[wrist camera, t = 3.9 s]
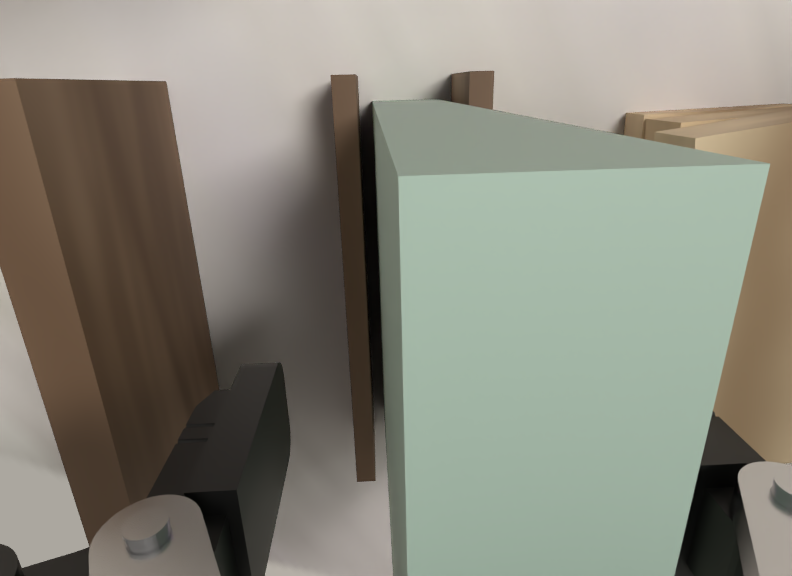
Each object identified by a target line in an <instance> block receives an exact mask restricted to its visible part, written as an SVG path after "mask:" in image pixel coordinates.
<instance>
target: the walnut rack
mask: <svg viewBox="0 0 792 576" xmlns="http://www.w3.org/2000/svg"><path fill="white" fill-rule="evenodd" d="M493 87H494V71H470V72H463V73H455V74H452V76H451V102H454V103H460V104H465V105H470V106H475V107H480V108H485V109H491V110H493ZM331 88H332V103H333V119H334V134H335V149H336V165H337V180H338V195H339V210H340V226H341V241H342V256H343V272H344V287H345V302H346V318H347V333H348V348H349V364H350V379H351V394H352V409H353V425H354V440H355V455H356V471H357V482H364V481H375V431H374V407H373V386H372V365H371V344H370V323H369V303H368V282H367V261H366V240H365V219H364V198H363V177H362V156H361V136H360V115H359V94H358V76H357V75H355V74H354V75H331ZM0 267H1V270H2V274H3V277H4V280H5V283H6V286H7V289H8V292H9V295H10V299H11V302H12V305H13V308H14V311H15V314H16V317H17V321H18V324H19V327H20V330H21V333H22V336H23V339H24V343H25V346H26V349H27V352H28V355H29V358H30V361H31V364H32V368H33V371H34V374H35V377H36V380H37V383H38V386H39V390H40V393H41V396H42V399H43V402H44V405H45V408H46V412H47V415H48V418H49V421H50V424H51V427H52V430H53V433H54V437H55V440H56V443H57V446H58V449H59V452H60V455H61V459H62V462H63V465H64V468H65V471H66V474H67V477H68V481H69V483H70V487H71V490H72V493H73V496H74V499H75V502H76V506H77V509H78V512H79V515H80V518H81V521H82V524H83V527H84V531H85V534H86V537H87V540H88V543H89V546H90V545H91V542H92V540H93V538H94V536H95V535H96V533H97V532H98V531H99V529H100V528H101V527H102V526H103V525H104V524H105V523H106V522H107V521H108V520H109V519H110V518H111V517H112V516H114V515H115V514H116V513H118V512H119V511H121V510H122V509H124V508H126V507H128V506H129V505H131V504H133V503H136V502H138V501H141V500H143V499H146V498H147V496H148V494H149V493H150V491H151V489H152V487H153V485H154V483H155V481H156V479H157V478H158V476H159V474H160V472H161V470H162V468H163V466H164V465H165V463H166V461H167V459H168V457H169V455H170V453H171V452H172V450H173V448H174V446H175V444H178V438H179V437H180V435H181V433H182V431H183V429H184V428H186V424H187V422H188V420H189V418H190V416H191V414H192V412H193V411H194V409H195V407H196V406H197V405H198V404H199V403H200V402H202V401H203V400H204V399H205V398H206V397H208V396H209V395H210V394H211V393H212V392H214V391H215V390H219V385H218V380H217V374H216V368H215V362H214V356H213V351H212V345H211V339H210V333H209V327H208V322H207V316H206V310H205V304H204V298H203V293H202V287H201V281H200V275H199V270H198V264H197V258H196V252H195V246H194V241H193V235H192V229H191V223H190V217H189V212H188V206H187V200H186V194H185V188H184V183H183V177H182V171H181V165H180V159H179V154H178V148H177V142H176V136H175V131H174V125H173V119H172V113H171V107H170V102H169V96H168V90H167V84H166V81H119V80H70V79H21V78H10V79H0Z"/></svg>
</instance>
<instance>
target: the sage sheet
mask: <svg viewBox="0 0 792 576" xmlns="http://www.w3.org/2000/svg"><path fill="white" fill-rule="evenodd" d="M372 111H373V136H374V162H375V187H376V213H377V238H378V264H379V290H380V315H381V341H382V366H383V392H384V415H385V433H386V452H387V470H388V489H389V507H390V526H391V544H392V563H393V576H674V575H675V571H676V567H677V562H678V558H679V554H680V550H681V545H682V541H683V537H684V532H685V528H686V524H687V519H688V515H689V511H690V507H691V502H692V498H693V494H694V489H695V485H696V481H697V477H698V472H699V468H700V464H701V459H702V455H703V451H704V447H705V442H706V438H707V434H708V429H709V425H710V421H711V416H712V412H713V408H714V404H715V399H716V395H717V391H718V386H719V382H720V378H721V374H722V369H723V365H724V361H725V356H726V352H727V348H728V343H729V339H730V335H731V331H732V326H733V322H734V318H735V313H736V309H737V305H738V301H739V296H740V292H741V288H742V283H743V279H744V275H745V271H746V266H747V262H748V258H749V253H750V249H751V245H752V240H753V236H754V232H755V228H756V223H757V219H758V215H759V210H760V206H761V202H762V198H763V193H764V189H765V185H766V180H767V176H768V172H769V168H770V163H765V162H759V161H754V160H749V159H744V158H739V157H733V156H728V155H723V154H718V153H713V152H708V151H702V150H697V149H692V148H687V147H682V146H677V145H671V144H666V143H661V142H656V141H651V140H646V139H640V138H635V137H630V136H625V135H620V134H615V133H609V132H604V131H599V130H594V129H589V128H584V127H578V126H573V125H568V124H563V123H558V122H553V121H547V120H542V119H537V118H532V117H527V116H522V115H516V114H511V113H506V112H501V111H496V110H491V109H485V108H480V107H475V106H470V105H465V104H460V103H454V102H449V101H444V100H439V99H430V100H395V101H372Z"/></svg>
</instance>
